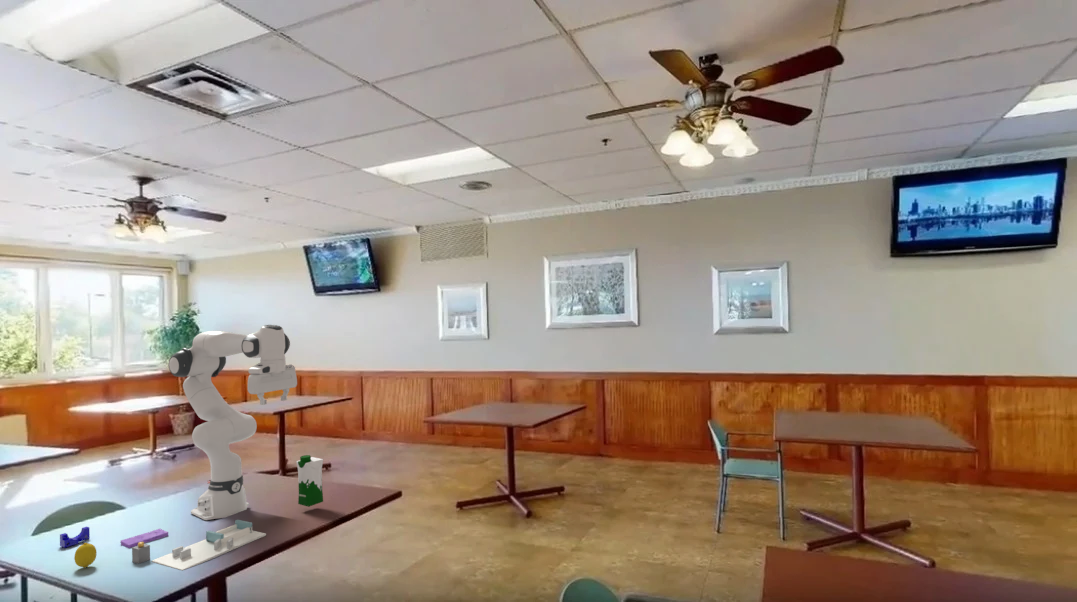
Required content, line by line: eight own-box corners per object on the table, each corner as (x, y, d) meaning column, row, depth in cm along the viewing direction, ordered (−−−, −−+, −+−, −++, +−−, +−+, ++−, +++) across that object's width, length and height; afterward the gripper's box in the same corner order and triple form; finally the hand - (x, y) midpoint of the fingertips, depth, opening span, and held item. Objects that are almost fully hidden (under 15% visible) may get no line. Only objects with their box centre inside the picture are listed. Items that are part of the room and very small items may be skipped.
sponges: (168, 537, 205) (168, 531, 205) (128, 550, 195) (128, 544, 195) (160, 533, 209) (160, 528, 209) (120, 545, 199) (120, 540, 199)
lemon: (82, 564, 183) (82, 539, 183) (100, 563, 183) (100, 538, 183) (70, 572, 177) (69, 547, 177) (88, 571, 178) (88, 546, 178)
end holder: (206, 541, 198) (206, 531, 198) (237, 528, 208) (237, 519, 208) (221, 545, 194) (220, 535, 194) (252, 532, 205) (252, 522, 205)
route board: (151, 562, 183) (151, 553, 183) (236, 528, 210) (236, 520, 210) (182, 571, 176) (182, 561, 176) (266, 535, 203) (265, 526, 203)
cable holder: (64, 547, 197) (64, 536, 197) (60, 545, 199) (59, 534, 199) (91, 539, 204) (91, 528, 204) (86, 537, 206) (86, 526, 206)
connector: (132, 563, 183) (132, 543, 183) (143, 558, 186) (143, 539, 186) (138, 564, 182) (138, 545, 182) (150, 560, 185) (149, 541, 185)
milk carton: (294, 504, 235) (293, 456, 235) (313, 497, 242) (312, 451, 242) (308, 508, 230) (306, 459, 230) (326, 501, 238) (325, 453, 238)
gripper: (289, 363, 229) (289, 397, 229) (244, 369, 211) (245, 406, 210) (300, 364, 227) (301, 398, 226) (256, 370, 208) (257, 407, 208)
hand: (273, 402), depth 218 cm, fingers open, 8 cm apart
